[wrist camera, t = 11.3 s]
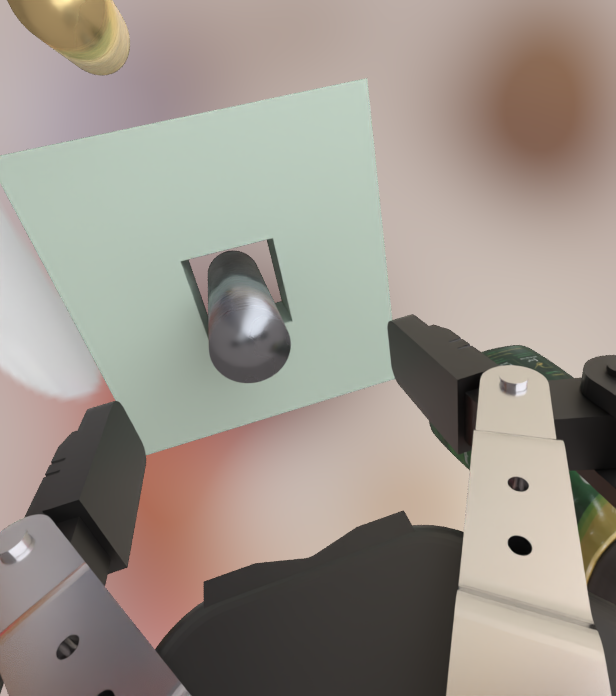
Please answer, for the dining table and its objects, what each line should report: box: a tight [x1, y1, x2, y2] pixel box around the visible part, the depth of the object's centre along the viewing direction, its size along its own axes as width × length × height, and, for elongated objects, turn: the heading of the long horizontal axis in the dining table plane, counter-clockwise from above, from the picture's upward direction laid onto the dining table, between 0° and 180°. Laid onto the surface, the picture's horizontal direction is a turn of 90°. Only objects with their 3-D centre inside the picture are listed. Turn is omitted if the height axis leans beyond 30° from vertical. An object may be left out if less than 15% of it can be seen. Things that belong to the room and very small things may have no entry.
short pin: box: [7, 0, 130, 75], centre depth 15 cm, size 3×3×5 cm
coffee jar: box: [429, 345, 616, 605], centre depth 23 cm, size 10×8×19 cm
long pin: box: [208, 251, 291, 383], centre depth 19 cm, size 3×3×10 cm
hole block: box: [0, 78, 395, 455], centre depth 22 cm, size 16×16×4 cm
